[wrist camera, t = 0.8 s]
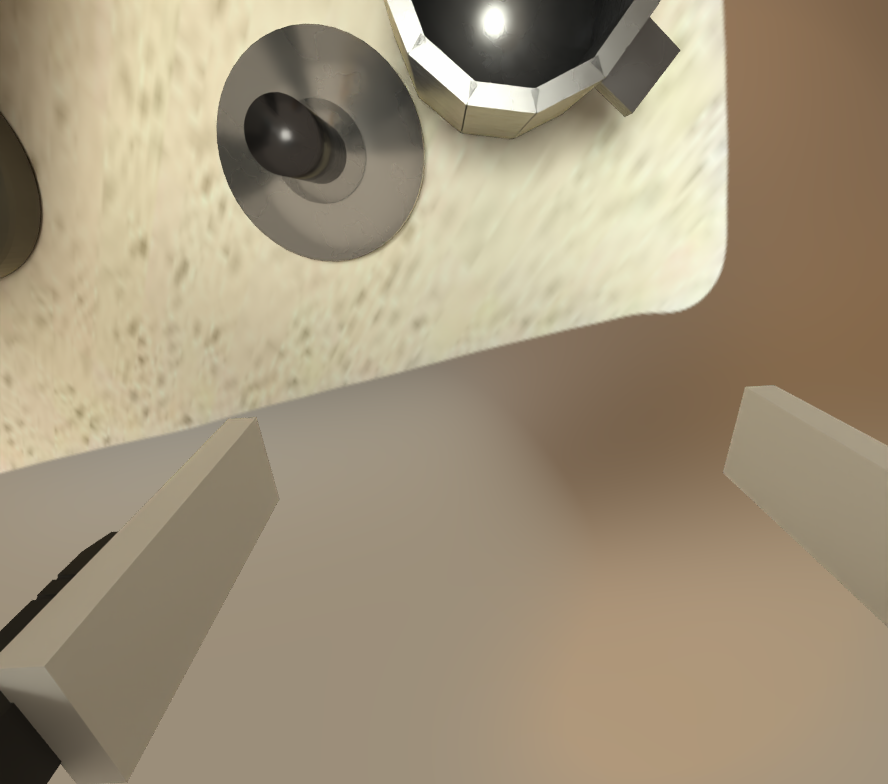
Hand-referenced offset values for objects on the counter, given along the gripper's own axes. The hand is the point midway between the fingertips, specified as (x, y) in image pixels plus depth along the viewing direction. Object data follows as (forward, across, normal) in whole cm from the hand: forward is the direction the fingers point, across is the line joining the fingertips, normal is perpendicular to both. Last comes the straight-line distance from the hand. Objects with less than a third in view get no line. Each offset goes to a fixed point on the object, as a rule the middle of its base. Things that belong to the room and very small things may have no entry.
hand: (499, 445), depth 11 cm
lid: (+23, -9, +10) cm, 26 cm away
